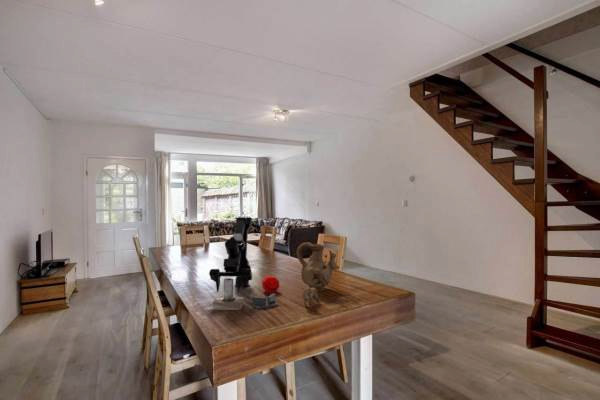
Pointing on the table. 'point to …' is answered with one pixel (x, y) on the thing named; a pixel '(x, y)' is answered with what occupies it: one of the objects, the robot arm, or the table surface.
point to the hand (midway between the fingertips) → (228, 291)
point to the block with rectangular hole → (228, 304)
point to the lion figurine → (309, 295)
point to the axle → (228, 290)
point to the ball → (270, 284)
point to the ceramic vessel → (316, 267)
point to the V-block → (263, 301)
